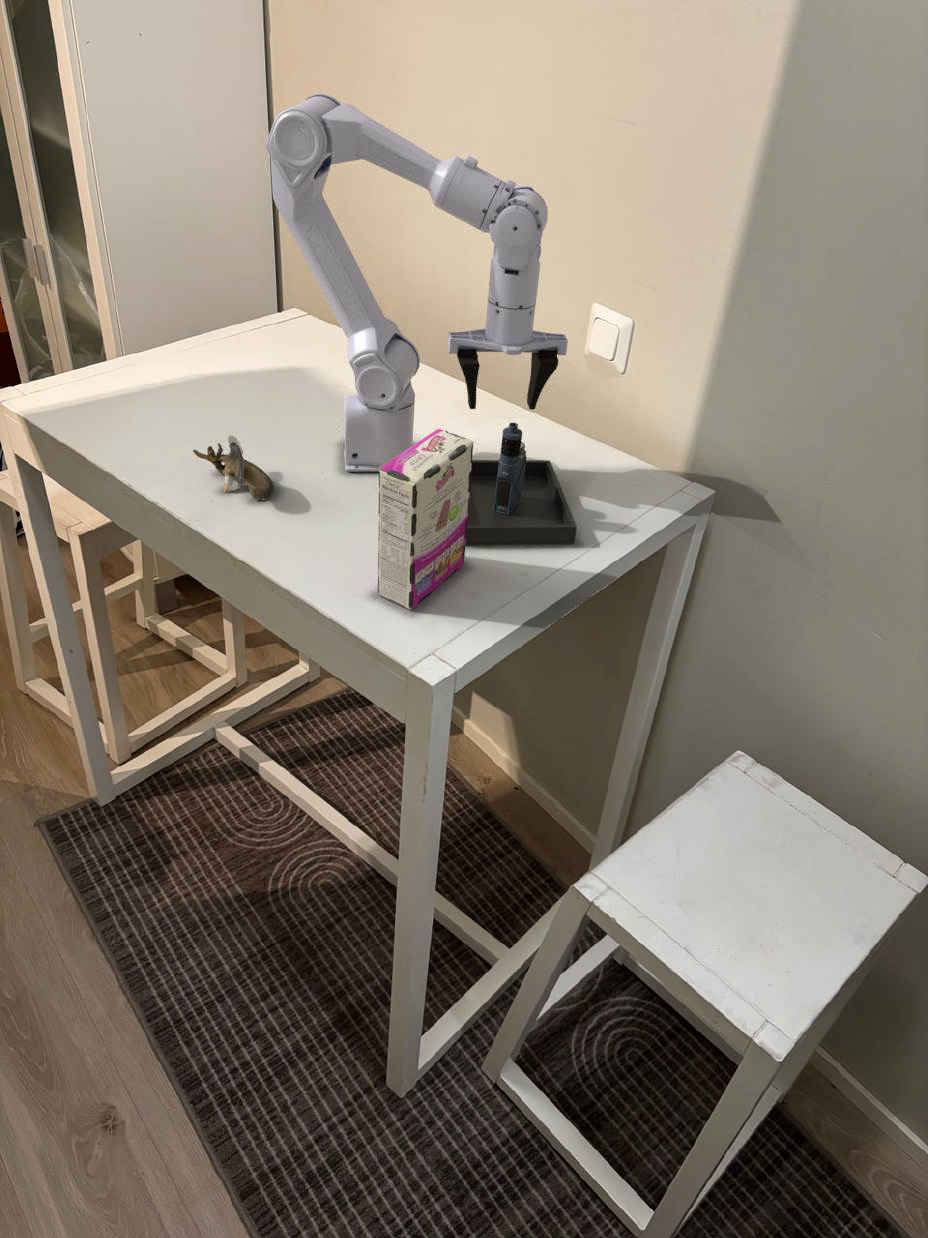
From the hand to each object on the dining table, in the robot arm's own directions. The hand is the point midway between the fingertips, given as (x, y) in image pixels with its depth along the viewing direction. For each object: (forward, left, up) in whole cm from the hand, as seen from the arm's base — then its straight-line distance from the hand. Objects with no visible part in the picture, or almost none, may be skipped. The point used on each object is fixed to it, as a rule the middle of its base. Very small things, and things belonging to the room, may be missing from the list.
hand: (501, 405), depth 123 cm
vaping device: (0, -8, -10) cm, 13 cm away
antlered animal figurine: (-33, -2, -11) cm, 35 cm away
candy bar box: (-12, -23, -11) cm, 28 cm away
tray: (0, -8, -10) cm, 13 cm away
